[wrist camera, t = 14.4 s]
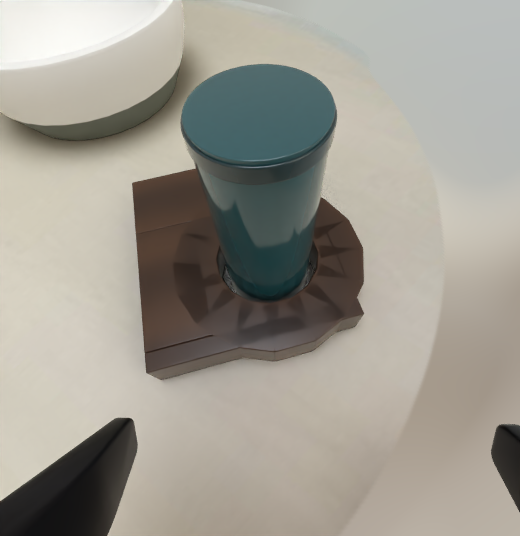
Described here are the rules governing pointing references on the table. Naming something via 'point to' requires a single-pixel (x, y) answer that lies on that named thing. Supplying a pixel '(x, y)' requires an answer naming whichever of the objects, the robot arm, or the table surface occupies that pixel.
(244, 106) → the lidded canister
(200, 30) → the table surface
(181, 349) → the display base
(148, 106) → the bowl
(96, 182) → the table surface
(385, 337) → the table surface
